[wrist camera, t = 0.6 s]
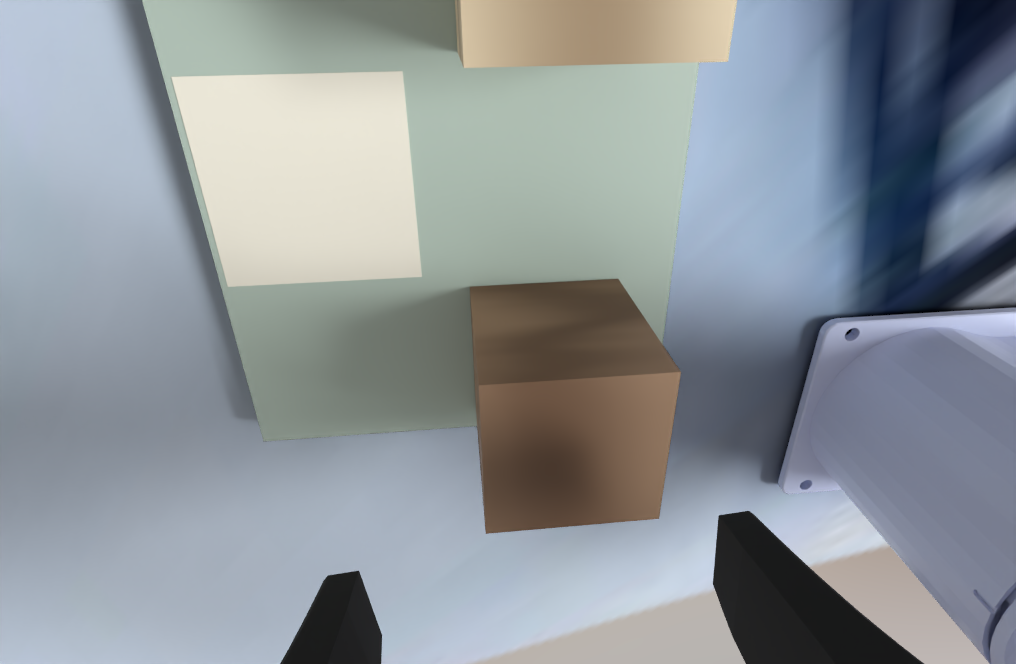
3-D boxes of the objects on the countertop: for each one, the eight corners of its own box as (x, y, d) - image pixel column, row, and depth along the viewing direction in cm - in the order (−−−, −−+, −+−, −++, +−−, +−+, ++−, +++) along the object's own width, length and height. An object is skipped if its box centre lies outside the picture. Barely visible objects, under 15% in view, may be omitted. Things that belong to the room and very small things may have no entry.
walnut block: (618, 278, 18) (680, 372, 13) (608, 401, 20) (658, 518, 15) (469, 286, 17) (479, 385, 13) (476, 409, 20) (485, 533, 15)
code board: (717, -212, 13) (736, -228, 12) (645, 397, 21) (653, 413, 20) (102, -220, 12) (75, -240, 11) (271, 423, 20) (263, 441, 19)
